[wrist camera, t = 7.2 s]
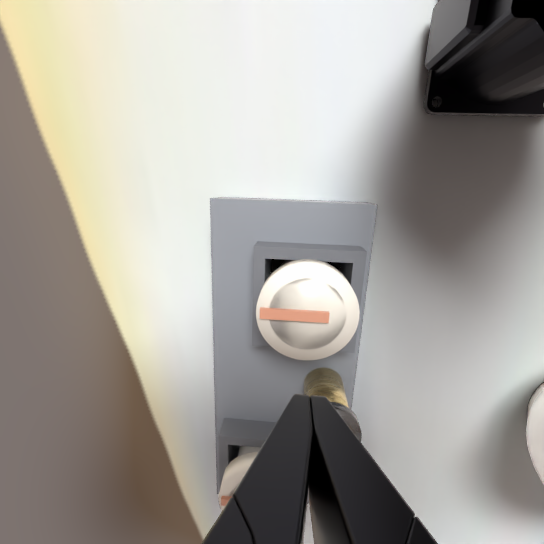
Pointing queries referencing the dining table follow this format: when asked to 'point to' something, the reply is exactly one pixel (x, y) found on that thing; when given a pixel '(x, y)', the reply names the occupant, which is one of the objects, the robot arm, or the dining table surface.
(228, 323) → the mount
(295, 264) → the white round cap
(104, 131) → the dining table surface
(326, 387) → the metal knob
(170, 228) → the dining table surface
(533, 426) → the lidded jar
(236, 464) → the knob
